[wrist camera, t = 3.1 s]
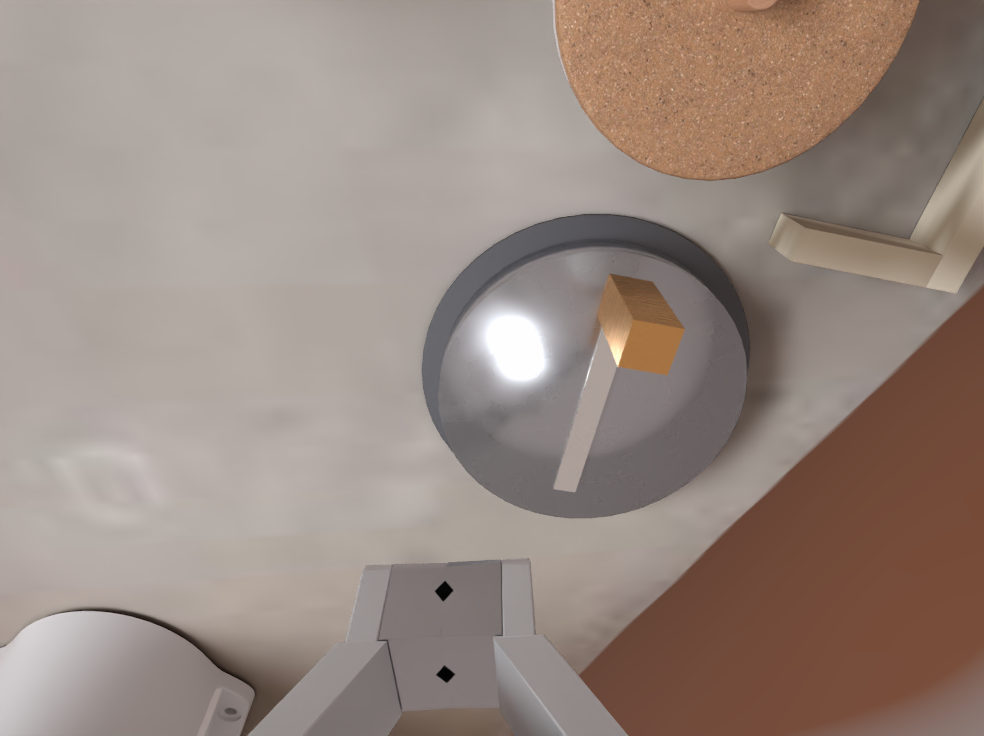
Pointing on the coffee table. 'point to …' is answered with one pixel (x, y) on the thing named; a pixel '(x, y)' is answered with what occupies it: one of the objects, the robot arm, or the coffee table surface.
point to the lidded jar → (724, 75)
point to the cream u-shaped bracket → (933, 244)
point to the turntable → (590, 379)
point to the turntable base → (554, 235)
